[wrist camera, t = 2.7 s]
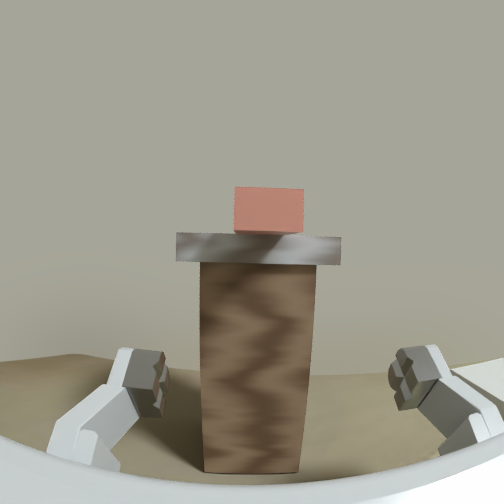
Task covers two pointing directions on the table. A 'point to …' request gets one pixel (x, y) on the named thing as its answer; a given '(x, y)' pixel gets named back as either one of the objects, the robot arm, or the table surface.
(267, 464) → the brown pedestal
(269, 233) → the salmon pink flat bar
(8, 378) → the table surface
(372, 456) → the table surface
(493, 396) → the stand
